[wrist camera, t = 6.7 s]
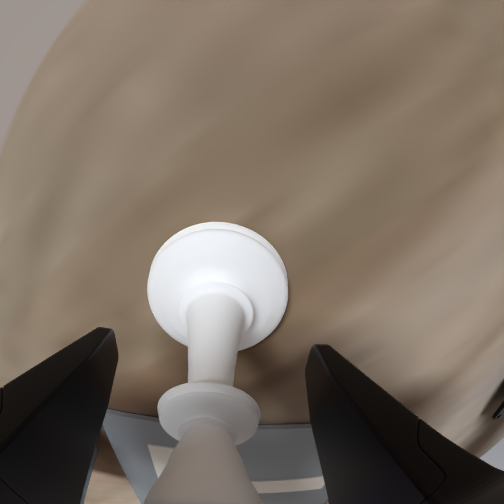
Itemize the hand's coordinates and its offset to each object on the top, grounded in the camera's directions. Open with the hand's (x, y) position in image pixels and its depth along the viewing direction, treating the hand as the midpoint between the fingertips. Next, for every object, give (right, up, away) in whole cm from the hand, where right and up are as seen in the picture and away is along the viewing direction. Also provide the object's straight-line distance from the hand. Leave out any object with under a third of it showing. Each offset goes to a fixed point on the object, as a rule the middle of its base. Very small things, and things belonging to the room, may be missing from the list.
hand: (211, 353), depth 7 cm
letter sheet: (0, -14, +9) cm, 16 cm away
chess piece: (0, +1, +3) cm, 4 cm away
